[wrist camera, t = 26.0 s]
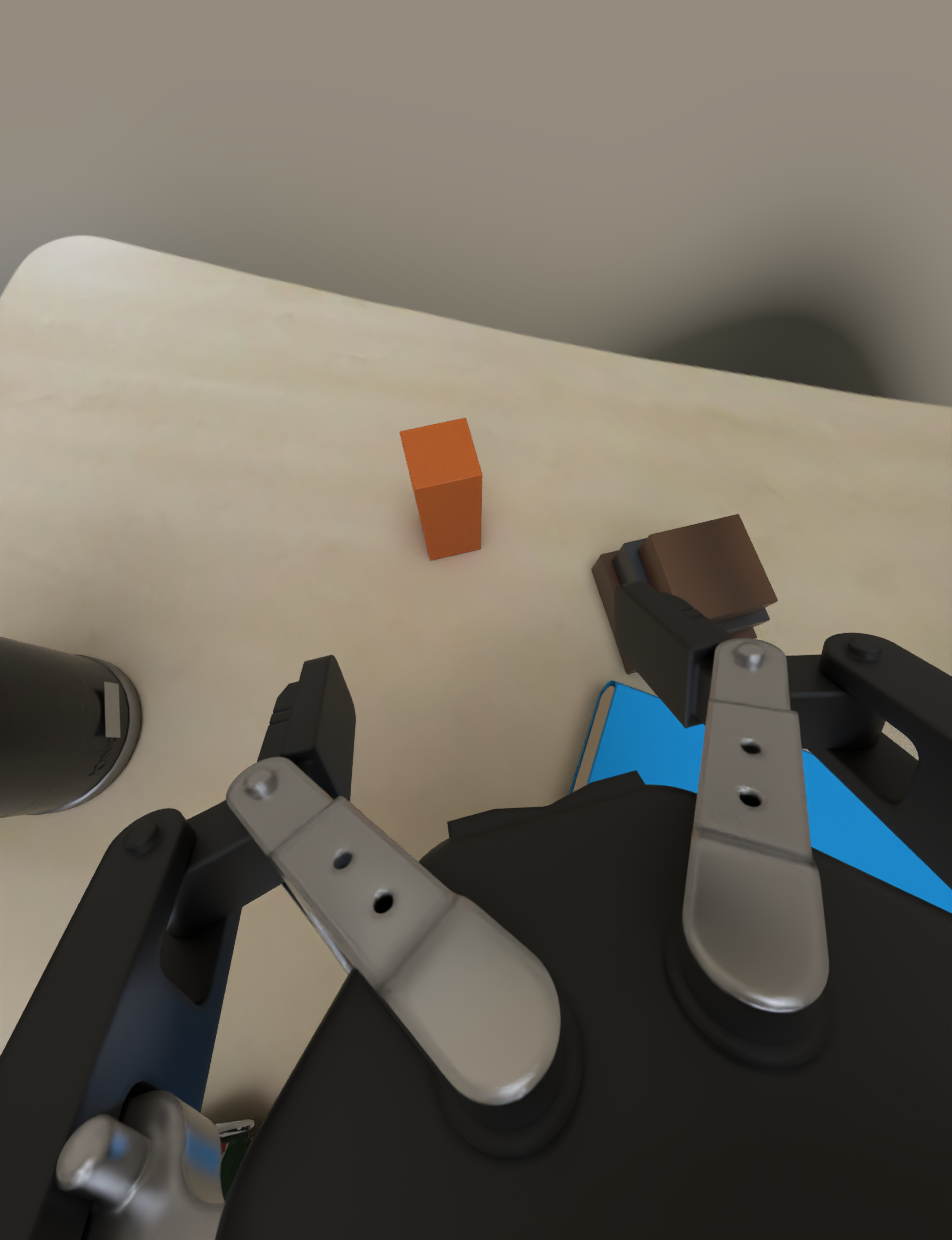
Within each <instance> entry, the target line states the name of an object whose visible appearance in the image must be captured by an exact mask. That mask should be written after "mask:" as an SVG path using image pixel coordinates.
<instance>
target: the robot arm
mask: <svg viewBox="0 0 952 1240" xmlns="http://www.w3.org/2000/svg"><path fill="white" fill-rule="evenodd" d="M614 624H615V638H616V642H617V645H618V648H619V650H620V652H621V653H622V654H623V656H624V657H625V658H626V659H627V660H628V662H629V663H630V664H631V665H632V666H633V667H634V669H635V670H636V671H637V672H638V673H639V675H640V676H641V677H642V678H643V679H644V680H645V682H646V683H647V684H648V685H649V686H650V687H651V689H652V690H653V691H654V692H655V693H656V695H657V696H658V697H659V698H660V699H661V700H662V702H663V703H664V704H665V705H666V706H667V708H668V709H669V710H670V711H671V712H672V713H673V715H674V716H675V717H676V718H677V719H678V721H679V722H680V723H681V724H682V725H683V726H684V728H689V727H693V726H696V725H700V724H704V725H705V734H704V742H703V750H702V758H701V767H700V775H699V783H698V791H697V793H695V792H692V791H689V790H685V789H681V788H677V787H672V786H666V785H654V784H645V783H644V781H643V780H642V778H641V777H640V775H639V773H638V772H637V770H635V771H631V772H627V773H624V774H620V775H617V776H613V777H609V778H606V779H602V780H598V781H595V782H591V783H589V784H587V785H586V786H584V787H582V788H580V789H578V790H576V791H575V792H573V793H571V794H569V795H567V796H566V797H564V798H562V799H560V800H558V801H557V802H555V803H553V804H551V805H549V806H544V807H527V808H504V809H493V810H489V811H485V812H482V813H478V814H474V815H471V816H467V817H463V818H460V819H456V820H452V821H449V822H447V824H448V831H449V838H448V839H447V840H445V841H443V842H441V843H440V844H439V845H437V846H436V847H434V848H433V849H431V850H430V851H429V852H428V853H427V854H426V855H425V856H423V857H422V858H421V859H420V860H419V862H417V861H416V860H415V859H414V858H413V857H412V856H411V855H409V854H408V853H407V852H406V851H405V850H404V849H403V848H401V847H400V846H399V845H398V844H397V843H396V842H395V841H394V840H392V839H391V838H390V837H389V836H388V835H387V834H386V833H384V832H383V831H382V830H381V829H380V828H379V827H378V826H376V825H375V824H374V823H373V822H372V821H371V820H370V819H368V818H367V817H366V816H365V815H364V814H363V813H362V812H360V811H359V810H358V809H357V808H356V807H355V806H354V805H353V804H351V803H350V793H351V779H352V766H353V752H354V739H355V725H356V715H355V708H354V704H353V701H352V698H351V695H350V693H349V690H348V688H347V685H346V683H345V680H344V677H343V675H342V672H341V670H340V667H339V665H338V662H337V660H336V658H335V657H334V656H333V655H329V656H325V657H321V658H317V659H313V660H309V661H305V662H304V664H303V668H302V672H301V675H300V679H299V682H294V683H290V684H288V686H287V687H286V688H285V689H284V690H283V692H282V693H281V694H280V695H279V696H278V698H277V700H276V704H275V707H274V710H273V714H272V716H271V719H270V722H269V723H270V725H269V726H268V729H267V732H266V735H265V738H264V741H263V744H262V747H261V751H260V754H259V757H258V760H257V763H255V764H253V765H251V766H250V767H248V768H247V769H245V770H244V771H243V772H242V773H241V774H239V775H238V776H237V777H236V779H235V780H234V781H233V782H232V784H231V785H230V787H229V789H228V791H227V794H226V800H225V801H223V802H221V803H220V804H218V805H216V806H214V807H212V808H210V809H208V810H206V811H204V812H202V813H200V814H198V815H196V816H194V817H192V818H190V819H188V820H186V819H185V818H184V816H183V815H182V814H181V812H179V811H178V810H176V809H170V808H167V809H161V810H157V811H154V812H151V813H149V814H147V815H145V816H143V817H141V818H139V819H137V820H136V821H135V822H133V823H132V824H130V825H129V826H128V827H126V828H125V829H124V830H123V831H122V832H121V833H120V834H119V835H118V836H117V837H116V838H115V839H114V840H113V841H112V843H111V844H110V845H109V847H108V849H107V850H106V852H105V854H104V856H103V858H102V860H101V862H100V864H99V866H98V867H97V869H96V871H95V873H94V875H93V877H92V879H91V881H90V883H89V885H88V887H87V889H86V891H85V893H84V895H83V897H82V899H81V901H80V903H79V904H78V906H77V908H76V910H75V912H74V914H73V916H72V918H71V920H70V922H69V924H68V926H67V928H66V930H65V932H64V934H63V936H62V938H61V939H60V941H59V943H58V945H57V947H56V949H55V951H54V953H53V955H52V957H51V959H50V961H49V963H48V965H47V967H46V969H45V971H44V973H43V975H42V976H41V978H40V980H39V982H38V984H37V986H36V988H35V990H34V992H33V994H32V996H31V998H30V1000H29V1002H28V1004H27V1006H26V1008H25V1010H24V1011H23V1013H22V1015H21V1017H20V1019H19V1021H18V1023H17V1025H16V1027H15V1029H14V1031H13V1033H12V1035H11V1037H10V1039H9V1041H8V1043H7V1045H6V1047H5V1048H4V1050H3V1052H2V1054H1V1056H0V1240H952V913H951V912H948V911H946V910H944V909H942V908H940V907H938V906H936V905H934V904H931V903H929V902H927V901H925V900H923V899H921V898H919V897H917V896H915V895H912V894H910V893H908V892H906V891H904V890H902V889H900V888H898V887H895V886H893V885H891V884H889V883H887V882H885V881H883V880H881V879H879V878H876V877H874V876H872V875H870V874H868V873H866V872H864V871H862V870H860V869H857V868H855V867H853V866H851V865H849V864H847V863H845V862H843V861H840V860H838V859H836V858H834V857H832V856H830V855H828V854H826V853H824V852H821V851H819V850H817V849H815V848H813V847H811V841H810V830H809V820H808V809H807V799H806V789H805V778H804V768H803V758H802V749H808V750H809V751H810V752H811V753H812V754H813V755H814V756H815V757H816V758H817V759H818V760H819V761H820V762H821V763H822V764H823V765H824V766H825V767H826V768H827V769H828V770H829V771H830V772H831V773H833V774H834V775H835V776H836V777H837V778H838V779H839V780H840V781H841V782H842V783H843V784H844V785H845V786H846V787H847V788H848V789H849V790H850V791H851V792H852V793H853V794H854V795H855V796H856V797H857V798H858V799H859V800H860V801H861V802H862V803H863V804H864V805H865V806H866V807H867V808H868V809H869V810H870V811H871V812H872V813H873V814H874V815H875V816H877V817H878V818H879V819H880V820H881V821H882V822H883V823H884V824H885V825H886V826H887V827H888V828H889V829H890V830H891V831H892V832H893V833H894V834H895V835H896V836H897V837H898V838H899V839H900V840H901V841H902V842H903V843H904V844H905V845H906V846H907V847H908V848H909V849H910V850H911V851H912V852H913V853H914V854H915V855H916V856H917V857H918V858H920V859H921V860H922V861H923V862H924V863H925V864H926V865H927V866H928V867H929V868H930V869H931V870H932V871H933V872H934V873H935V874H936V875H937V876H938V877H939V878H940V879H941V880H942V881H943V882H944V883H945V884H946V885H947V886H948V887H949V888H950V889H951V890H952V676H950V675H948V674H947V673H945V672H943V671H941V670H940V669H938V668H936V667H934V666H933V665H931V664H929V663H928V662H926V661H924V660H922V659H921V658H919V657H917V656H916V655H914V654H912V653H910V652H909V651H907V650H905V649H903V648H902V647H900V646H898V645H897V644H895V643H893V642H891V641H889V640H886V639H884V638H881V637H877V636H873V635H869V634H862V633H842V634H837V635H833V636H831V637H829V638H828V639H826V641H825V642H824V646H823V650H822V654H821V655H799V656H785V654H784V653H783V652H782V651H781V650H780V649H779V648H778V647H776V646H774V645H773V644H770V643H768V642H765V641H762V640H757V639H751V638H736V639H735V638H734V637H732V636H731V635H730V634H729V633H727V632H726V631H725V630H723V629H722V628H721V627H719V626H718V625H717V624H715V623H714V622H713V621H711V620H710V619H709V618H707V617H706V616H705V617H704V616H703V614H702V613H701V612H699V611H698V610H697V609H694V607H693V606H692V605H690V604H689V603H688V602H686V601H685V600H684V599H682V598H680V597H677V596H675V595H672V594H669V593H666V592H662V593H659V592H658V591H657V590H655V589H654V588H653V587H652V586H650V585H649V584H648V583H647V582H645V581H644V580H639V581H635V582H631V583H627V584H623V585H619V586H616V587H615V589H614ZM140 719H141V714H140V704H139V700H138V696H137V693H136V691H135V689H134V687H133V685H132V683H131V682H130V680H129V679H128V678H127V676H126V675H125V674H124V673H123V672H122V671H121V670H119V669H118V668H117V667H115V666H114V665H112V664H110V663H108V662H106V661H103V660H100V659H96V658H92V657H88V656H83V655H73V654H68V653H64V652H60V651H56V650H52V649H48V648H44V647H41V646H37V645H32V644H28V643H24V642H20V641H16V640H12V639H7V638H3V637H0V818H5V817H12V816H19V815H40V814H47V813H54V812H60V811H64V810H68V809H71V808H73V807H76V806H78V805H81V804H83V803H85V802H86V801H88V800H90V799H92V798H93V797H95V796H96V795H98V794H99V793H100V792H101V791H103V790H104V789H105V788H106V787H107V786H108V785H109V784H110V783H111V782H112V781H113V780H114V779H115V778H116V777H117V776H118V775H119V773H120V772H121V771H122V769H123V768H124V766H125V765H126V763H127V762H128V760H129V758H130V756H131V754H132V752H133V750H134V747H135V744H136V742H137V738H138V734H139V729H140ZM885 721H887V722H888V723H890V724H891V725H892V726H894V727H895V728H896V729H898V730H899V731H900V732H902V733H903V734H904V735H905V736H907V737H908V738H909V739H910V740H911V741H912V743H913V744H914V746H915V747H916V750H917V752H918V756H919V761H918V760H917V759H915V758H914V757H913V756H911V755H910V754H909V753H908V752H906V751H905V750H904V749H903V748H901V747H900V746H899V745H897V744H896V743H895V742H894V741H892V740H891V739H890V738H889V737H887V736H886V735H885V734H883V733H882V729H883V726H884V724H885ZM280 884H281V885H282V887H283V888H284V889H285V891H286V892H287V893H288V895H289V896H290V897H291V899H292V900H293V901H294V903H295V904H296V905H297V906H298V908H299V909H300V910H301V912H302V913H303V914H304V916H305V917H306V918H307V920H308V921H309V922H310V924H311V925H312V926H313V928H314V929H315V930H316V932H317V933H318V934H319V935H320V937H321V938H322V939H323V941H324V942H325V944H326V945H327V946H328V948H329V949H330V951H331V952H332V953H333V955H334V956H335V958H336V959H337V961H338V962H339V963H340V965H341V966H342V967H343V969H344V970H345V972H346V973H347V974H348V977H347V978H346V980H345V982H344V983H343V985H342V987H341V989H340V990H339V992H338V994H337V995H336V997H335V999H334V1001H333V1002H332V1004H331V1006H330V1008H329V1009H328V1011H327V1013H326V1014H325V1016H324V1018H323V1020H322V1021H321V1023H320V1025H319V1026H318V1028H317V1030H316V1032H315V1033H314V1035H313V1037H312V1038H311V1040H310V1042H309V1044H308V1045H307V1047H306V1049H305V1051H304V1052H303V1054H302V1056H301V1057H300V1059H299V1061H298V1063H297V1064H296V1066H295V1068H294V1069H293V1071H292V1073H291V1075H290V1076H289V1078H288V1080H287V1082H286V1083H285V1085H284V1087H283V1088H282V1090H281V1092H280V1094H279V1095H278V1097H277V1099H276V1100H275V1102H274V1104H273V1106H272V1107H271V1109H270V1111H269V1113H268V1114H267V1116H266V1118H265V1119H264V1121H263V1123H262V1125H261V1126H260V1128H259V1130H258V1131H257V1133H256V1135H255V1137H254V1138H253V1140H252V1142H251V1144H250V1146H249V1148H248V1149H247V1151H246V1153H245V1155H244V1157H243V1159H242V1161H241V1164H240V1166H239V1168H238V1170H237V1173H236V1175H235V1177H234V1180H233V1182H232V1185H231V1187H230V1190H229V1193H228V1196H227V1199H226V1202H225V1201H224V1199H223V1194H222V1190H221V1181H220V1170H221V1153H222V1151H221V1140H220V1136H219V1133H218V1130H217V1128H216V1126H215V1125H214V1124H213V1123H212V1121H211V1120H209V1119H208V1118H206V1117H205V1116H204V1115H202V1114H201V1108H202V1103H203V1098H204V1093H205V1088H206V1083H207V1078H208V1073H209V1068H210V1063H211V1058H212V1053H213V1048H214V1043H215V1039H216V1034H217V1029H218V1024H219V1019H220V1014H221V1009H222V1004H223V999H224V994H225V989H226V984H227V979H228V974H229V969H230V964H231V960H232V955H233V950H234V945H235V940H236V935H237V930H238V925H239V920H240V915H241V910H242V907H243V906H244V905H246V904H248V903H250V902H251V901H253V900H255V899H256V898H258V897H260V896H262V895H263V894H265V893H267V892H268V891H270V890H272V889H273V888H275V887H277V886H279V885H280Z"/></svg>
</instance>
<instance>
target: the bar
mask: <svg viewBox="0 0 952 1240" xmlns="http://www.w3.org/2000/svg"><path fill="white" fill-rule="evenodd" d="M400 436H401V440H402V444H403V449H404V453H405V457H406V461H407V465H408V469H409V474H410V478H411V482H412V486H413V490H414V495H415V499H416V503H417V507H418V511H419V515H420V520H421V524H422V528H423V532H424V536H425V540H426V545H427V549H428V553H429V557H430V560H435V559H439V558H443V557H448V556H452V555H456V554H461V553H465V552H469V551H474V550H478V549H481V508H482V472H481V469H480V465H479V462H478V458H477V455H476V451H475V448H474V444H473V441H472V437H471V434H470V430H469V427H468V424H467V420H466V418H462V419H458V420H453V421H448V422H443V423H438V424H434V425H429V426H424V427H419V428H415V429H410V430H405V431H400Z"/></svg>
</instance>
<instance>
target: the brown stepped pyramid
mask: <svg viewBox="0 0 952 1240" xmlns="http://www.w3.org/2000/svg"><path fill="white" fill-rule="evenodd" d="M592 572H593V575H594V578H595V581H596V584H597V587H598V590H599V593H600V595H601V598H602V601H603V604H604V607H605V610H606V613H607V616H608V619H609V622H610V625H611V627H612V630H613V633H614V636H615V624H614V589H615V587H616V586H619V585H623V584H627V583H631V582H635V581H639V580H644V581H645V582H647V583H648V584H649V585H650V586H652V587H653V588H654V589H655V590H657V591H658V592H659V593H662V592H666V593H669V594H672V595H675V596H677V597H680V598H682V599H684V600H685V601H686V602H688V603H689V604H690V605H692V606H693V607H694V609H697V610H698V611H699V612H701V613H702V614H703V616H704V617H705V616H706V617H707V618H709V619H710V620H711V621H713V622H714V623H715V624H717V625H718V626H719V627H721V628H722V629H723V630H725V631H726V632H727V633H729V634H730V635H731V636H732V637H734V638H735V639H736V638H751V639H755V638H757V636H756V634H755V631H754V629H753V627H755V626H757V625H760V624H762V623H764V622H766V621H769V620H770V618H769V616H768V614H767V611H766V609H765V607H767V606H769V605H771V604H773V603H775V602H777V601H778V600H777V597H776V595H775V593H774V591H773V589H772V586H771V584H770V582H769V580H768V577H767V575H766V573H765V571H764V569H763V566H762V564H761V562H760V560H759V558H758V555H757V553H756V551H755V549H754V547H753V544H752V542H751V540H750V538H749V536H748V533H747V531H746V529H745V527H744V524H743V522H742V520H741V518H740V516H739V514H736V515H732V516H728V517H724V518H719V519H715V520H711V521H707V522H702V523H698V524H694V525H690V526H685V527H681V528H677V529H673V530H668V531H664V532H660V533H656V534H651V535H649V536H648V538H645V539H641V540H637V541H632V542H628V543H624V544H623V546H622V547H621V548H620V550H618V551H614V552H610V553H606V554H601V555H600V557H599V558H598V560H597V562H596V563H595V565H594V566H593V568H592ZM615 639H616V638H615ZM619 651H620V650H619ZM620 654H621V657H622V659H623V662H624V665H625V668H626V671H627V673H628V674H630V673H633V672H637V671H636V670H635V669H634V667H633V666H632V665H631V664H630V663H629V662H628V660H627V659H626V658H625V657H624V656H623V654H622V653H621V652H620Z"/></svg>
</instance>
